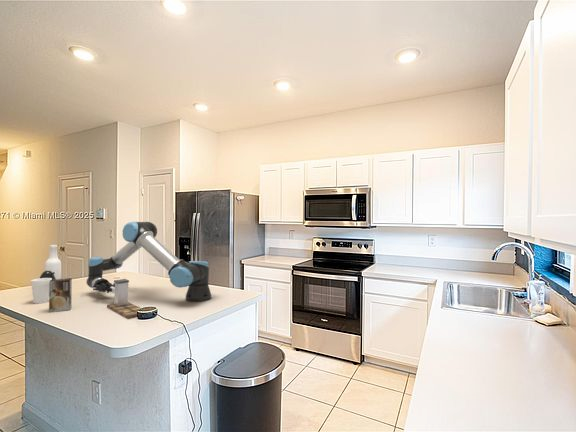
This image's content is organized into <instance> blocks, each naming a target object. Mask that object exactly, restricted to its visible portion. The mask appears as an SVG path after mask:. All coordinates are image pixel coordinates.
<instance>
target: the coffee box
mask: <svg viewBox="0 0 576 432" xmlns="http://www.w3.org/2000/svg"><path fill="white" fill-rule="evenodd" d="M72 279H73V278H69V277H67V278H61V279H52V280H50V282H49V299H48V313H55V312H56V313H57V312H63V311H70V310H71V309H72V298H73V297H72V294H73V293H72V292H73V291H72V287H73V286H72V285H73V284H72V283H73V281H72Z"/></svg>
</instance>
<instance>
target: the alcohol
mask: <svg viewBox="0 0 576 432" xmlns="http://www.w3.org/2000/svg"><path fill="white" fill-rule="evenodd" d="M44 271H51V272H52V273H53V272H55V274H54V276H55V278H56V279H62V261H61V260H60V259H59V256H58V245H57V244H50V245H49V254H48V258H47V259H46V261H45V263H44Z"/></svg>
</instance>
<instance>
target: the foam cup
mask: <svg viewBox="0 0 576 432" xmlns="http://www.w3.org/2000/svg"><path fill="white" fill-rule="evenodd" d="M50 280H52V278H40V277H39V278H34V279H31V280H30V285H31V291H32V297H33V299H32V300H33V303H34V304H35V305H36V304H37V305H38V304H39V305H40V304H46V303H49V282H50Z"/></svg>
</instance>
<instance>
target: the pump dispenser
mask: <svg viewBox="0 0 576 432" xmlns="http://www.w3.org/2000/svg"><path fill="white" fill-rule="evenodd" d="M54 274H55V272H53V273H52V272H51V271H45V270H44V271H43V272H42V273H41V275H40V276H39V278H52V279H56V278H55V276H54Z"/></svg>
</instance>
